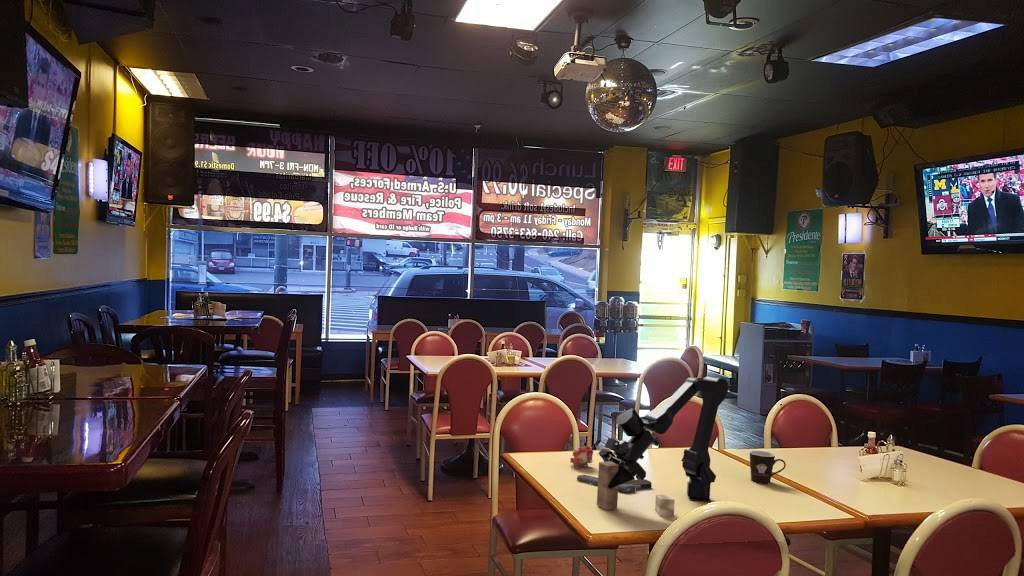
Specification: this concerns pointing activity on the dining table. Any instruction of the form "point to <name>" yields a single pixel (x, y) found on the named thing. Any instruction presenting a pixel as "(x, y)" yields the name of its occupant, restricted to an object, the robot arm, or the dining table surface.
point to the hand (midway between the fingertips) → (604, 485)
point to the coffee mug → (762, 466)
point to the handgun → (622, 487)
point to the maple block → (664, 505)
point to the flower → (582, 456)
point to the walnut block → (604, 494)
